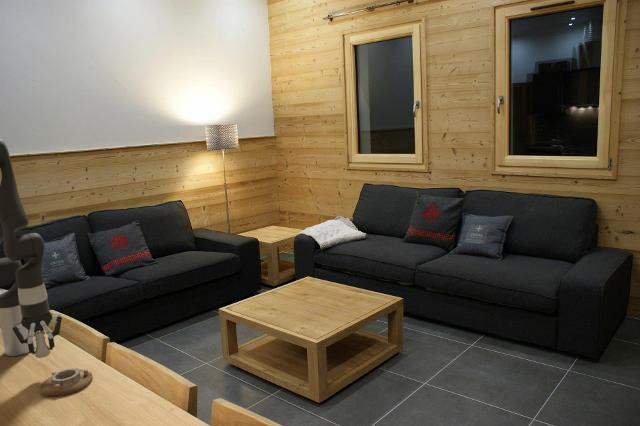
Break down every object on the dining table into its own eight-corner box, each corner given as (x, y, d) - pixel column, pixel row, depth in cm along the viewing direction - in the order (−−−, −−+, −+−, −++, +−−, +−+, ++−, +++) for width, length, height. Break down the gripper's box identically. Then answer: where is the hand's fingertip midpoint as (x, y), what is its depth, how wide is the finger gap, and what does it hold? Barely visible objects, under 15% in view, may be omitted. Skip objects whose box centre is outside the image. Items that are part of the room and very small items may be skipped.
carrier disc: (39, 382, 163) (37, 372, 162) (88, 368, 170) (87, 359, 169) (42, 402, 151) (40, 391, 150) (95, 386, 158) (94, 376, 157)
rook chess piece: (54, 352, 168) (50, 328, 166) (43, 359, 164) (38, 334, 162) (43, 351, 170) (38, 327, 168) (31, 357, 165) (27, 333, 164)
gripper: (57, 290, 170) (65, 340, 173) (5, 301, 162) (15, 353, 166) (60, 297, 163) (69, 349, 167) (6, 308, 156) (16, 362, 160)
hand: (42, 351), depth 166 cm, fingers closed on rook chess piece, 4 cm apart
